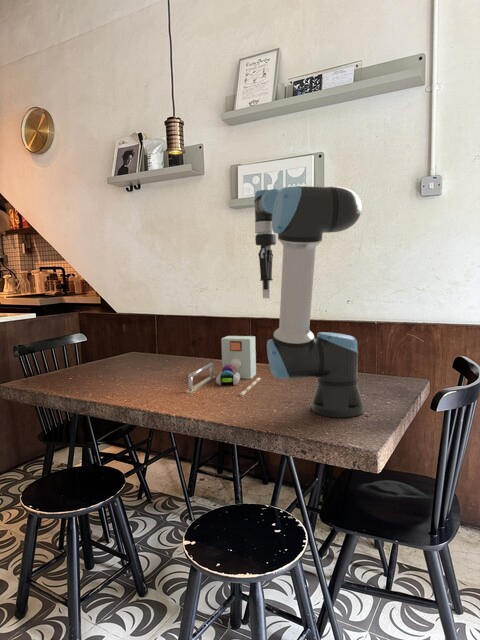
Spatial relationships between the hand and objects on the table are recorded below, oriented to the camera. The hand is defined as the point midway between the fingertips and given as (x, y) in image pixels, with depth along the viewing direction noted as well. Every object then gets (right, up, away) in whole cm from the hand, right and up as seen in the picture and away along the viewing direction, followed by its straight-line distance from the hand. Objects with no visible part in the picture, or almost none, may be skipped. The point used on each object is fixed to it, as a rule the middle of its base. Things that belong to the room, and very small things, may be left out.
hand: (266, 298), depth 164 cm
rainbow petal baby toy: (-14, -33, +5) cm, 36 cm away
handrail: (-25, -33, +4) cm, 41 cm away
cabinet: (-10, -31, +17) cm, 37 cm away
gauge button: (-11, -20, +13) cm, 26 cm away
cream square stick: (-6, -33, -2) cm, 33 cm away
